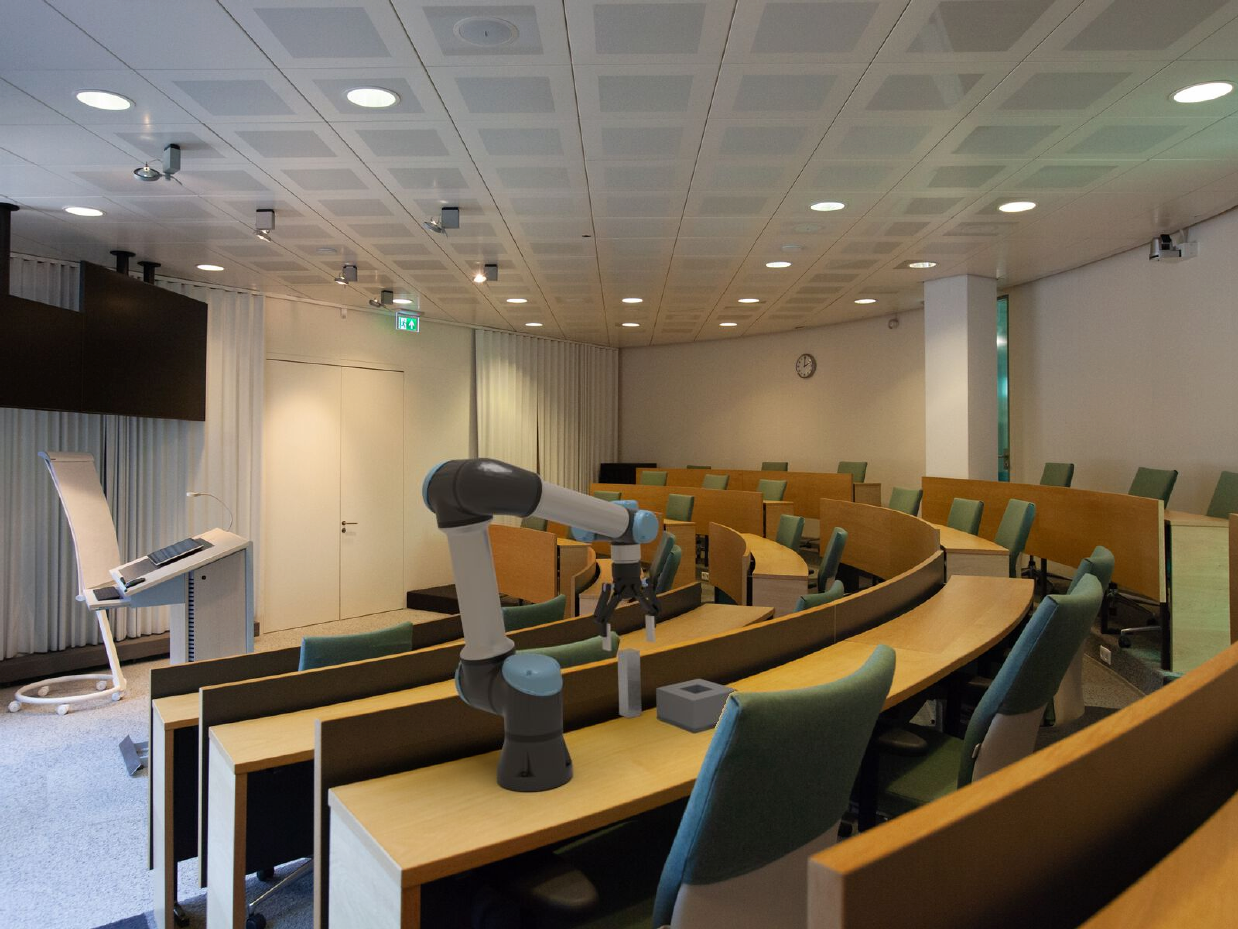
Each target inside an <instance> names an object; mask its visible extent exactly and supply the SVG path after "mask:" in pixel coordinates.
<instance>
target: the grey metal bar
mask: <svg viewBox="0 0 1238 929" xmlns="http://www.w3.org/2000/svg"><path fill="white" fill-rule="evenodd" d="M617 676H618V679H617V680H618V683H617V684H618V710H619V711H618V714H619V715H620V716H622V717H624V718H627V719H633V718H635V717H640V716H642V715H643V713H642V684H641V682H642V681H641V653H640V650H638V649H633V648H627V649H619V650H617ZM639 715H640V716H639Z"/></svg>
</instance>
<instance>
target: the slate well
mask: <svg viewBox="0 0 1238 929" xmlns="http://www.w3.org/2000/svg"><path fill="white" fill-rule="evenodd" d="M734 691H737V692H738V689H736V688H733V687H729V686H726V685H723V684H719V683H717V682H712V681H708V680H705V679H701V678H696V679H695V678H694V679H692V680H691V679H690V680H687V681H681V682H678V683H673V684H669V685H665V686H660V687H657V688H655V695H656V697H655V699H656V700H655V701H656V720H658V721H661V722H663V723H667V724H669V725H671V726H674V727H676V728H679V729H682V730H684V731H688V732H690V733H692V734H697V732H698V733H701V732H705V731H708V730H712V729H715V726H716V724H717V722H718V721H719V717H720V715H721V713H722V709H723V708H724V705H725V704H726V700H727V698H728V696H729V694H730V693H732V692H734Z"/></svg>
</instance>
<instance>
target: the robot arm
mask: <svg viewBox="0 0 1238 929" xmlns="http://www.w3.org/2000/svg"><path fill="white" fill-rule="evenodd" d="M421 488H422V489H421V496H422V500H423V503H424V504H425V507H426V508H427V509H428V510H430V512H431V513H433V514H434V515H435V519H436V524H437V529H438V530H439V531H440V532H442V533H443V534H444V535H446V539H447V544H448V549H449V555H450V561H451V562H450V563H451V566H452V573H453V578H454V579H453V580H454V584H455V590H456V596H457V597H456V598H457V602H458V607H459V613H460V619H461V623H462V624H461V625H462V626H461V627H462V631H463V636H464V642H465V644H464V647H462V649H461V651H460V652H459V657H460V661H459V662H458V667H457V668H456V669H455V675H454V686H455V689H456V692H457V694H458V696H459V697H460V699H461V700H462V701H463V702H465V703H466V704H467V705H469V706H471V707H472V708H475V709H476V710H479V711H485V712H488V713H491V714H494V715H498V716H500V717H503V719H504V722H503V723H504V725H503V726H504V742H503V745H502V749H501V751H500V755H499V759H498V763H497V766H496V781H497V783H498V784H499V786H501V788H502V787H503V788H504V789H506V790H507V789H508V790H512V791H517V792H518V791H519V792H540V791H546V790H551V789H554V788H557V787H560V786H562V785H565V784H566V783H568V782H569V781H570V780H571V779H572V778H573V775H574V769H573V768H574V767H573V761H572V758H571V754H570V751H569V749H568V745H567V744H566V743H567V742H566V739H565V737H564V723H563V722H564V719H563V717H564V716H563V715H564V712H563V711H564V710H563V709H564V708H563V704H564V703H563V702H564V701H563V682H564V681H563V678H562V669H561V665H560V664H559V662H558V661H557V660H556V659H555V658H553V657H551V656H549V655H545V654H542V653H532V652H524V653H517V650H516V646H515V642H514V640H512V639H510V637H508V636H507V635H506V634H507V633H506V627H505V623H504V616H503V611H502V605H501V604H502V603H501V600H500V599H501V598H500V594H499V592H500V591H499V588H498V582H497V575H496V569H495V568H496V567H495V563H494V557H493V550H492V546H491V540H490V535H489V534H490V533H489V526H490V525H491V523H492V522H493V520H495V518H494V516H512V517H516V518H520V519H527V518H528V519H529V517H536V518H540V519H543V520H547V521H551V522H554V523H558V524H562V525H565V526H569V527H570V528H571V530H570V531H571V533H572V536H573V538H574V539H575V540H576V541H577V542H580V543H592V542H608V543H609V544H610V559H611V561H613V562H612V563H611V565H610V566H611V578H612V583H609V582H602V583H601V592H600V595H599V598H598V601H597V604H596V607H595V609H594V611H593V614H592V618H591V620H592V621H591V622H594V623H597V624H598V625H599V628H598V629H599V636H600V637H601V640H602V650H604V651H607V652H611V651H612V635H611V634H612V633H611V628H612V627H611V623H608V622H609V621H610V619H611V617H612V615H613V614H614V612H615V610H616V609H617V607H618V605H619V604H620V602H622V601H623V600H627V599H630V598H631V599H634V598H635V599H636V601H637V602H638V603H639V604H640V605H641V607H642V608H643V609H644V611H645V612H646V613H647V614H646V615H644V616H645V637H646V639H645V640H646V642H650V643H656V636H655V634H656V632H655V631H656V630H655V629H656V628H657V617H658V616H659V615H660V613H662V612H663V606H662V605H661V603H660V601H659V598H658V596H657V595H656V592H655V590H654V588H653V584H652V578H650V577H644V576H643V577H642V578H641V575H642V563H641V561H640V560H641V559H642V553H641V550H642V549H641V544H649V543H652V542H653V541H654V540H655V539H656V537H657V535H658V533H659V528H660V527H659V526H660V525H659V519H658V518H657V516H656V514H655V513H654V512H653V511H650V510H644V509H639V504H638V501H637V500H634V499H632V500H631V499H629V500H628V499H627V500H625V499H623V500H612V501H608V500H605V499H601V498H598V497H595V496H592V495H588V494H586V493H582V492H579V491H576V490H573V489H570V488H568V487H567V488H566V487H564V486H561V485H557V484H555V483H552V482H548V481H545V480H543V479H542V477H541V476H540V475H539V474H538V473H537V472H533V471H531V470H527V469H525V468H523V467H520V466H516V465H514V464H511V463H508V462H506V461H502V460H500V459H499V460H498V459H495V458H489V457H475V458H465V459H459V458H458V459H451V460H446V461H443V462H439V463H438V464H436V465H434V466H433V467H432V468H431V469H430V470H429V471H428V472H427V474H426V476H425V478H424V480H423V483H422V487H421ZM641 587H642V589H643V591H644V593H643V591H642V590H641ZM611 593H612V594H611ZM645 595H646V596H645Z"/></svg>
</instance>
